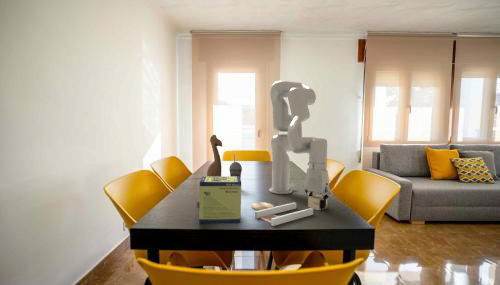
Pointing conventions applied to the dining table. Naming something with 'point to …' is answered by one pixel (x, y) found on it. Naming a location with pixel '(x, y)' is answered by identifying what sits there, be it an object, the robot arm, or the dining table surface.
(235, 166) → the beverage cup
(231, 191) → the protein box
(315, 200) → the block
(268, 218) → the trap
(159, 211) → the dining table surface
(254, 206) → the coaster
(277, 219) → the channel
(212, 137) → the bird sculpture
